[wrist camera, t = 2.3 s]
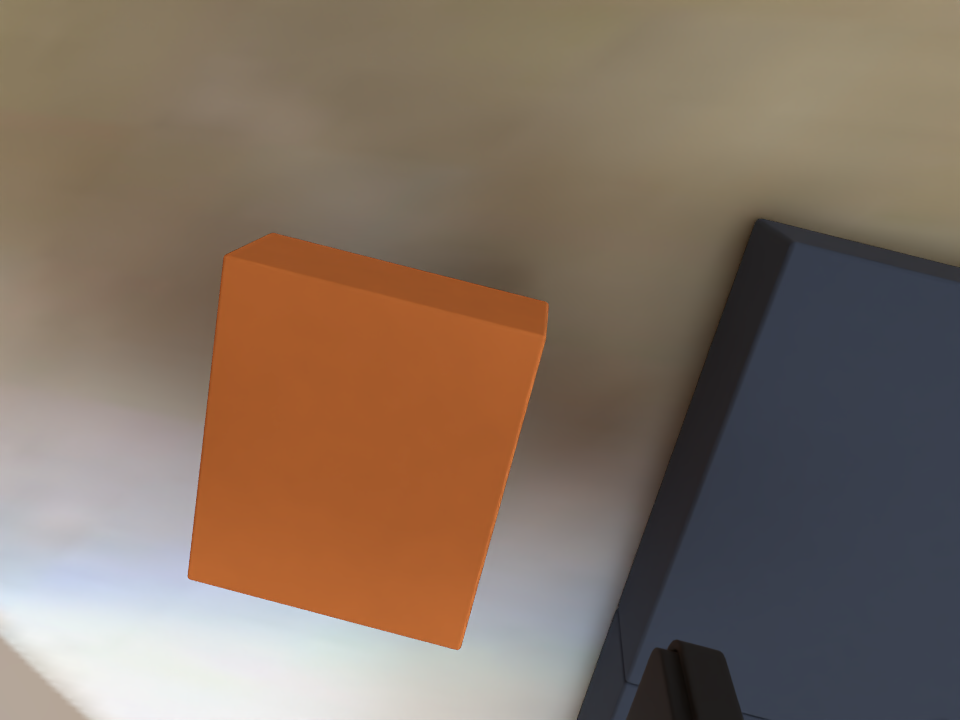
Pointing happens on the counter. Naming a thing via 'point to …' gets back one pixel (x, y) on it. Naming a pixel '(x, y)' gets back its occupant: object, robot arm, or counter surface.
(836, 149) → the counter surface
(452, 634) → the top pad
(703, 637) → the base pad
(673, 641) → the robot arm
